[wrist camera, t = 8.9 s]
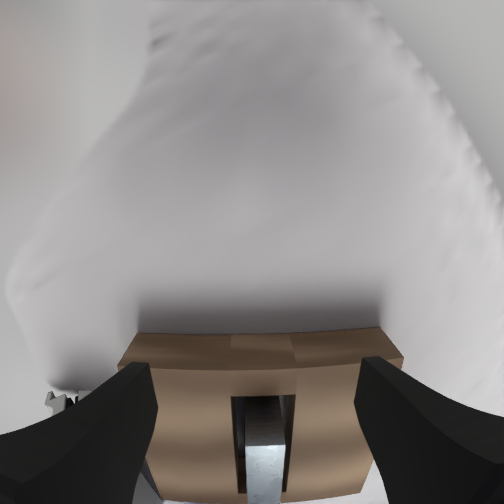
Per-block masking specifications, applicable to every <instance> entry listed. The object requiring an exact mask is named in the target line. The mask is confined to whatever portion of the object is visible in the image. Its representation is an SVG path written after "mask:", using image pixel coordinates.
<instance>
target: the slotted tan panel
mask: <svg viewBox="0 0 504 504" xmlns="http://www.w3.org/2000/svg"><path fill="white" fill-rule="evenodd" d="M372 356H379V357H381V358H383V359H385V360H386V361H388V362H389V363H391V364H392V365H394V366H396V367H397V368H399V369H400V370H401V368H402V364H403V360H404V357H403V356H402V354H401V353H400V352H399V350H398V349H397V348H396V347H395V345H394V344H393V343H392V341H391V340H390V339H389V338H388V336H387V335H386V334H385V333H384V331H383V330H382V329H381V328H380V327H373V328H362V329H350V330H336V331H320V332H302V333H278V334H235V335H197V334H154V333H137V334H136V336H135V337H134V339H133V341H132V342H131V344H130V345H129V347H128V349H127V350H126V352H125V354H124V355H123V357H122V359H121V360H120V362H119V363H118V365H117V367H118V371H120V370H121V369H123V368H124V367H125V366H127V365H128V364H130V363H131V362H146V363H149V366H150V371H151V376H152V380H153V385H154V390H155V394H156V399H157V403H158V407H159V408H158V413H157V419H156V424H155V429H154V433H153V436H152V439H151V442H150V444H149V447H148V450H147V453H146V456H145V458H146V461H147V464H148V466H149V469H150V472H151V474H152V477H153V479H154V482H155V484H156V487H157V489H158V491H159V494H160V496H161V498H162V500H171V501H180V502H192V503H208V504H248V495H247V475H246V457H239V456H238V442H237V426H236V410H235V396H272V395H286V403H285V419H284V438H285V457H284V468H283V479H282V490H281V499H280V503H288V502H299V501H309V500H318V499H325V498H332V497H339V496H345V495H350V494H356V493H360V492H361V490H362V487H363V485H364V482H365V480H366V478H367V475H368V472H369V470H370V467H371V465H372V462H373V459H374V458H373V456H372V453H371V451H370V449H369V446H368V444H367V442H366V439H365V437H364V435H363V432H362V430H361V428H360V425H359V421H358V418H357V414H356V410H355V406H354V403H353V402H354V398H355V393H356V388H357V382H358V377H359V372H360V366H361V360H362V358H363V357H372Z"/></svg>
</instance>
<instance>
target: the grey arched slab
mask: <svg viewBox="0 0 504 504" xmlns="http://www.w3.org/2000/svg"><path fill="white" fill-rule="evenodd" d="M91 392H92V391H88V390H82V391H79V395H78V396H76V397H75V403H76V402H78V401H79V400H81V399H82V398H84V397H85V396H87V395H88V394H90V393H91ZM73 404H74V403H73V401H72V399H71V398H67V396H66V395H65V394H63V395H61V396H59V397H55V395H54V393H53V391H51V392H48V395H47V398H46V401H45V405H46V407H47V409H48V410H49V412H50V414H51V415H52V416H53V415H55V414H57V413H59V412H61V411H63V410H65V409H66V408H68V407H70V406H71V405H73ZM132 504H164V503H163V501H162V500H161V499H160V498H159V496H158V495H157V494H156V492H155V491H154V490H153V488H152V487H151V485H150V484H149V483H148V481H147V480H146V479H145V477H144V476H143V474H142V473H141V471H140V474H139V476H138V479H137V483H136V487H135V491H134V496H133V501H132Z"/></svg>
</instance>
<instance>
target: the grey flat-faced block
mask: <svg viewBox="0 0 504 504" xmlns="http://www.w3.org/2000/svg"><path fill="white" fill-rule="evenodd" d="M245 453H246V475H247V495H248V504H280V499H281V490H282V479H283V468H284V457H285V438H284V430H283V423H282V416H281V409H280V402H279V395H272V396H245Z"/></svg>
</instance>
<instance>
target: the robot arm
mask: <svg viewBox="0 0 504 504" xmlns="http://www.w3.org/2000/svg"><path fill="white" fill-rule="evenodd" d="M353 403H354V406H355V410H356V414H357V418H358V421H359V425H360V428H361V430H362V432H363V435H364V437H365V439H366V442H367V444H368V446H369V449H370V451H371V453H372V456H373V458H374V460H375V462H376V465H377V467H378V469H379V472H380V475H381V477H382V480H383V483H384V487H385V491H386V494H387V498H388V502H389V504H504V417H501V416H497V415H493V414H489V413H486V412H483V411H479V410H476V409H473V408H471V407H468V406H466V405H463V404H461V403H458V402H456V401H454V400H452V399H449V398H447V397H445V396H443V395H441V394H440V393H438V392H436V391H434V390H432V389H430V388H429V387H427V386H425V385H424V384H422V383H420V382H419V381H417V380H415V379H414V378H412V377H411V376H409V375H408V374H406V373H405V372H403V371H402V370H400V369H399V368H397V367H396V366H394V365H392V364H391V363H389V362H388V361H386V360H385V359H383V358H381V357H379V356H372V357H363V358H362V360H361V366H360V372H359V377H358V382H357V388H356V393H355V398H354V402H353ZM158 408H159V407H158V403H157V399H156V394H155V390H154V385H153V380H152V376H151V371H150V366H149V363H146V362H131V363H130V364H128V365H127V366H125V367H124V368H123V369H121V370H120V371H119V372H118V373H116V374H115V375H114V376H112V377H111V378H110V379H109V380H107V381H106V382H105V383H103V384H102V385H101V386H99V387H98V388H97V389H95V390H94V391H92V392H91V393H90V394H88V395H87V396H85V397H84V398H82V399H81V400H79V401H78V402H76V403H75V404H73V405H71V406H70V407H68V408H66V409H65V410H63V411H61V412H59V413H57V414H55V415H53V416H51V417H50V418H47V419H45V420H43V421H40V422H38V423H35V424H33V425H30V426H28V427H25V428H22V429H19V430H16V431H13V432H10V433H6V434H2V435H0V504H132V501H133V496H134V491H135V487H136V483H137V479H138V476H139V474H140V471H141V468H142V465H143V462H144V459H145V456H146V453H147V450H148V447H149V444H150V442H151V439H152V436H153V433H154V429H155V424H156V419H157V413H158ZM184 503H185V504H208V503H192V502H184Z"/></svg>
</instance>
